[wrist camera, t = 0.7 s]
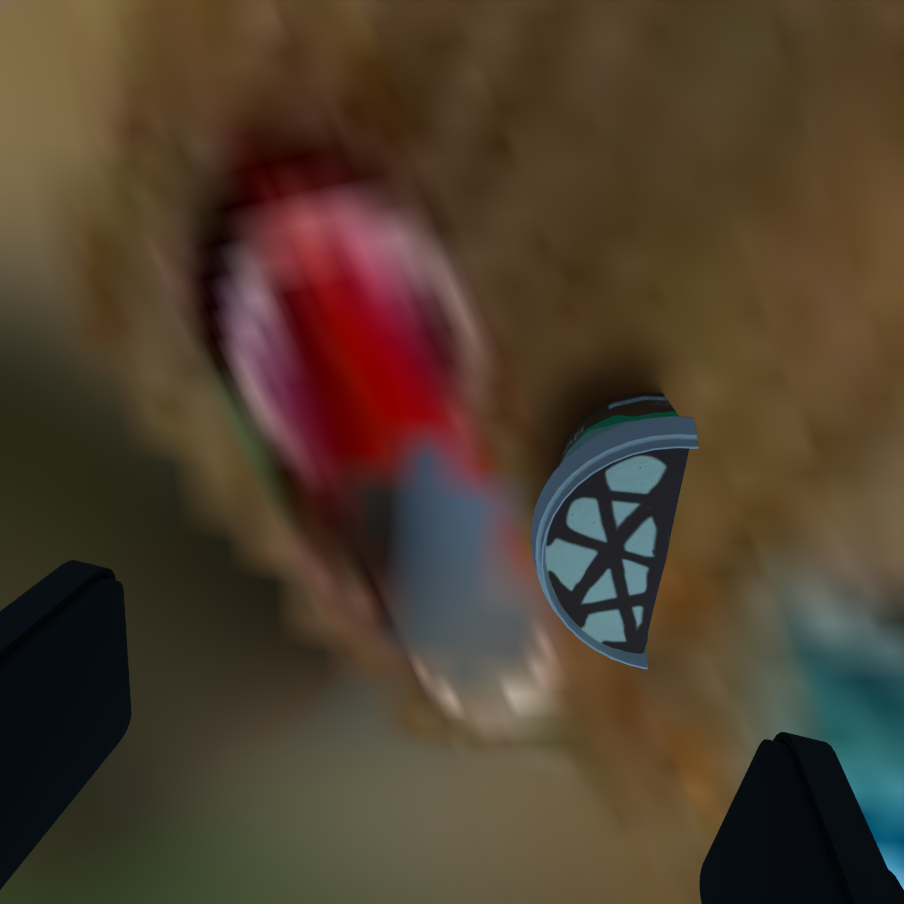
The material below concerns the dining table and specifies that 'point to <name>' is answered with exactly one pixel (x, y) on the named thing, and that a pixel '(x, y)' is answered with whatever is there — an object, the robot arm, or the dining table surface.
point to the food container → (612, 521)
